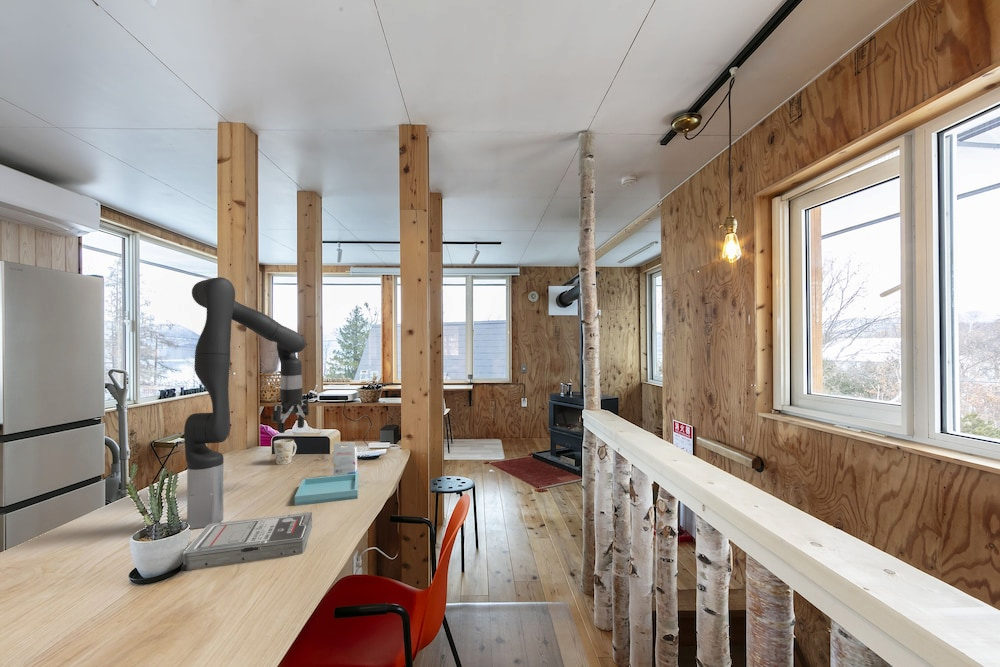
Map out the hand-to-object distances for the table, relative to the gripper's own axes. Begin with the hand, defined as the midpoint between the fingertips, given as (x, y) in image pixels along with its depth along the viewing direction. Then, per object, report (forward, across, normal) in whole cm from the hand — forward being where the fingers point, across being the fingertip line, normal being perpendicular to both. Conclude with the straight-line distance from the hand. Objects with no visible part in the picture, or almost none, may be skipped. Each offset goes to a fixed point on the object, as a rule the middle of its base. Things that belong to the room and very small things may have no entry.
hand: (291, 430), depth 162 cm
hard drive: (+20, -38, -28) cm, 52 cm away
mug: (+25, +27, +33) cm, 49 cm away
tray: (+21, +2, -17) cm, 27 cm away
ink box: (+22, +17, -10) cm, 30 cm away
